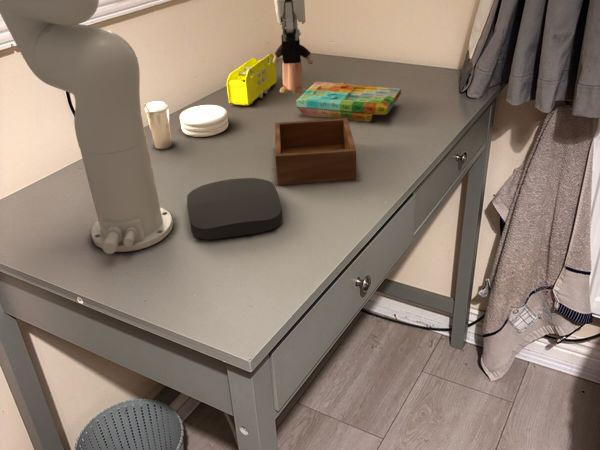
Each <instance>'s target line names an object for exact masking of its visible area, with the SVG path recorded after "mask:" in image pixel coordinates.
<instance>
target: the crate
mask: <svg viewBox="0 0 600 450" xmlns="http://www.w3.org/2000/svg"><path fill="white" fill-rule="evenodd" d="M274 148H275V149H274V152H275V153H274V154H275V156H274V157H275V167H276V179H277V180H276V181H277V185H278V186H283V185H299V184H301V185H302V184H315V183H328V182H329V183H331V182H345V181H356V180H357V148H356V145H355V141H354V138H353V134H352V131H351V127H350V123H349V120H348V119H347V118H340V119H336V118H327V119H311V120H297V121H283V122H281V121H280V122H275V123H274Z"/></svg>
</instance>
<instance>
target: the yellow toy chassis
mask: <svg viewBox="0 0 600 450" xmlns="http://www.w3.org/2000/svg"><path fill="white" fill-rule="evenodd" d="M274 56H275V55H273V53H269V54H267V55H266V56H264V57H263V58H261V59H258V60H257V59H256V58H255V57H251V58H250V59H249V60H247V61H246V62H244V63H243V64H241V65H240V66H239V67H237V68H236V69H234V70H233V71H232V72H230V73H229V74H228V77H227V80H226V81H225V83H226V90H227V91H226V92H227V99H228V104H233V105H238V106H251V105H252V104H253V103H254V101H255V100H257V99H258V98H259V99H263V97H264V94H266V95H267V94H268V91H269V90H270V89H271V87H273V85H275V84H276V83H277V69H276V64H275V63H273V59H274Z"/></svg>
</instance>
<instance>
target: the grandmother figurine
mask: <svg viewBox="0 0 600 450" xmlns="http://www.w3.org/2000/svg"><path fill="white" fill-rule="evenodd" d="M293 28H295V27H293ZM285 29H286V27H285ZM300 31H301V30H300V29H299V28H298V37H299V38H300V36H301V35H302V33H301V32H300ZM285 36H286V35H285ZM273 56H274V59H273V63H275V65H277V64H278V63H279V60H280V58H281V57H283V55H282V43H281V44H280V45H279V46H278V47H277V49H276V51H275V52H274V55H273ZM300 57H303V58H305V60H306V61H307V63H308V65H313V64H314V59H313V57H312V55H311V51H309V49H307V48H306V47H305V46H304V45H302V44H300ZM281 67H282V86H281V87H280V89H279V93H281V94H287V93H290V92H291V91H292V93H293V94H297V95H298V94H303V93H304V87H303V78H304V77H303V74H304V73H303V65H302V60H301V61H300V62H299V63H287V64H284V63H283V62H282V66H281Z"/></svg>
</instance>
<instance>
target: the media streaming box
mask: <svg viewBox="0 0 600 450" xmlns="http://www.w3.org/2000/svg"><path fill="white" fill-rule="evenodd" d="M186 206H187V214H188V218H189V225H190V230H191V234H192V235H194V236H195V237H197V238H199V239H203V240H218V239H226V238H233V237H240V236H246V235H251V234H259V233H264V232H268V231H269V232H270V231H271V230H273V229H276V228H277V227H279V226H280V225H281V224H282V222H283V219H284V218H283V208H282V202H281V198H280V196H279V192H278V190H277V188H276V186H275V184H274V183H273V182H272V181H269V180H267V179H263V178H257V177H241V178H230V179H223V180H218V181H214V182H210V183H207V184H206V183H205V184H202V185H200V186H198V187H196V188H194V189H193V190H191V191H190V192H188V194H187V195H186Z"/></svg>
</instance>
